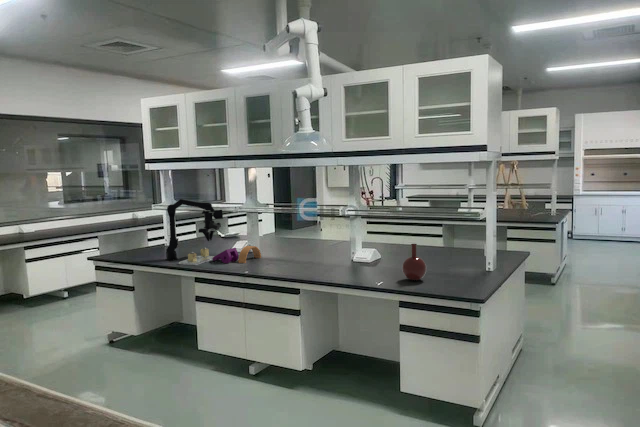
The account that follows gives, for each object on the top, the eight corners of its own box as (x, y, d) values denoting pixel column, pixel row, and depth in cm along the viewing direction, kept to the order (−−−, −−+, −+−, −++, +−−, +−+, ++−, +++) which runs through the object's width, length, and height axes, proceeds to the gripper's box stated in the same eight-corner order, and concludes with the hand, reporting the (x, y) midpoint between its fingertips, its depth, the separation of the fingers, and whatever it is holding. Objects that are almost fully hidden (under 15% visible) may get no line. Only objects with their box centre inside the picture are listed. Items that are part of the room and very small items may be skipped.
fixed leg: (188, 261, 324) (187, 252, 324) (191, 260, 328) (191, 251, 328) (193, 261, 323) (192, 252, 322) (196, 260, 327) (196, 251, 326)
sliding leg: (200, 256, 338) (200, 248, 338) (204, 255, 342) (203, 247, 341) (205, 256, 337) (205, 248, 336) (208, 255, 341) (208, 247, 340)
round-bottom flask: (399, 282, 256) (398, 245, 254) (405, 276, 268) (404, 241, 266) (423, 283, 250) (423, 246, 248) (428, 278, 262) (428, 242, 260)
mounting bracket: (213, 270, 328) (230, 261, 319) (209, 259, 329) (226, 249, 320) (223, 267, 336) (240, 258, 327) (218, 256, 337) (235, 247, 328)
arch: (261, 258, 338) (261, 244, 337) (245, 263, 320) (244, 248, 319) (254, 257, 340) (254, 243, 339) (238, 262, 322) (237, 248, 321)
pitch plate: (178, 264, 323) (178, 261, 322) (199, 257, 345) (199, 255, 345) (196, 265, 318) (195, 262, 318) (215, 258, 340) (215, 255, 340)
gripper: (210, 221, 332) (212, 243, 334) (225, 218, 349) (226, 239, 351) (197, 221, 336) (198, 242, 337) (212, 218, 353) (213, 238, 355)
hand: (209, 240), depth 345 cm, fingers open, 3 cm apart
